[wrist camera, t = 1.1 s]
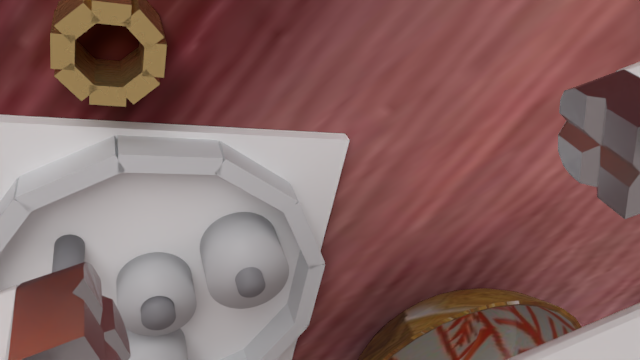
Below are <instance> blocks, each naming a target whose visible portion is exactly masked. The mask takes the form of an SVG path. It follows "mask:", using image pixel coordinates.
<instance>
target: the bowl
mask: <svg viewBox="0 0 640 360" xmlns="http://www.w3.org/2000/svg"><path fill="white" fill-rule="evenodd" d="M579 328H581V326H580V324H579V323H578V321H577V320H576V318H575V317H573V316H572V315H571V314H569V313H568V312H567V311H565V310H564V309H562V308H560V307H558V306H555V305H553V304H551V303H548V302H545V301H542V300H539V299H536V298H534V297H531V296H528V295H525V294H522V293H519V292H513V291H506V290H498V289H487V288H482V289H466V290H456V291H452V292H447V293H443V294H439V295H437V296H434V297H431V298H429V299H426V300H424V301H421V302H419V303H418V304H416V305H414V306H412V307H410V308H408V309H407V310H405V311H403V312H402V313H401V314H399V315H398V316H396V317H395V318H394V319H392V320H391V321H390V322H388V323H387V324H386V325H385V326H384V327H383V328H382V329H381V330H380V331H379V332H378V333H377V334H376V335H375V336H374V337H373V339H372V340H371V341H370V343H369V344H368V345H367V346H366V348H365V349H364V351H363V352H362V354H361V355H360V357H359V359H358V360H506V359H509V358H511V357H513V356H516V355H518V354H520V353H523V352H525V351H527V350H530V349H532V348H534V347H537V346H539V345H541V344H544V343H546V342H549V341H551V340H553V339H556V338H558V337H560V336H563V335H565V334H567V333H570V332H572V331H574V330H577V329H579Z"/></svg>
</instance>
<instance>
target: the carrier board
mask: <svg viewBox="0 0 640 360" xmlns="http://www.w3.org/2000/svg"><path fill="white" fill-rule="evenodd" d="M349 141H350V140H349V138H348V137H347V135H346V134H343V133H324V132H306V131H288V130H270V129H252V128H233V127H215V126H197V125H179V124H161V123H142V122H124V121H106V120H88V119H70V118H51V117H33V116H15V115H0V291H1V290H3V289H6V288H9V287H12V286H15V285H20V284H21V283H23V282H26V281H29V280H32V279H35V278H38V277H41V276H44V275H47V274H50V273H53V272H56V271H59V270H62V269H65V268H68V267H71V266H74V265H77V264H80V263H83V262H88V263H90V264H92V266H93V268H94V269H95V271H96V272H97V274H98V276H99V277H100V279H101V288H102V296H105V297H107V298H110V299H112V300H113V301H114V303H115V305H116V307H117V309H118V310H119V313H120V315H121V317H122V320H123V322H124V325H125V328H126V332H127V336H128V340H129V346H130V355H131V356H130V358H129V360H292V357H293V353H294V349H295V346H296V342H297V338H298V337H299V336H300V335H301V334H302V333H303V332H304V331H305V330H306V329H307V328H308V327H307V326H309V323H310V319H311V316H312V312H313V308H314V305H315V301H316V297H317V294H318V290H319V286H320V282H321V279H322V275H323V271H324V268H325V261H324V259H323V257H322V254H321V252H320V251H321V247H322V243H323V239H324V236H325V232H326V228H327V224H328V220H329V217H330V213H331V209H332V205H333V201H334V198H335V194H336V190H337V186H338V182H339V179H340V175H341V171H342V167H343V163H344V160H345V156H346V152H347V148H348V144H349Z"/></svg>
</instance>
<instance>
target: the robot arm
mask: <svg viewBox="0 0 640 360" xmlns="http://www.w3.org/2000/svg"><path fill="white" fill-rule="evenodd" d="M559 113H560V114H561V115H562V116H563V117H564V118H565V120H566V123H565V124H564V126H563V128H562V129H561V131H560V133H559V134H558V152H559V155H560V158H561V160H562V163H563V166H564V167H565V168H566V170H567V171H568V172H569V174H570V175H571V176H572V177H573V178H575V179H576V180H577V181H578V182H579V183H582V184H586V185H590V186H594V187H596V188H597V197H598V198H599V199H600V200H602V201H603V202H604V203H605V204H607V205H608V206H609V207H610V208H612V209H613V210H614V211H615V212H617V213H618V214H619V215H620V216H622V217H623V218H624V219H627V218H629V217H632V216H635V215H638V214H640V62H638V63H635V64H632V65H630V66H627V67H625V68H622V69H620V70H617V71H616V72H615V73H612V74H609V75H606V76H604V77H601V78H598V79H595V80H593V81H590V82H587V83H584V84H582V85H579V86H576V87H573V88H571V89H568V90H565V91H564V93H563V95H562V97H561V100H560V111H559ZM130 356H131V355H130V346H129V340H128V336H127V332H126V328H125V325H124V322H123V320H122V317H121V315H120V313H119V310H118V309H117V307H116V305H115V303H114V301H113V300H112V299H110V298H107V297H105V296H102V288H101V279H100V277H99V276H98V274H97V272H96V271H95V269H94V268H93V266H92V264H90V263H88V262H83V263H80V264H77V265H74V266H71V267H68V268H65V269H62V270H59V271H56V272H53V273H50V274H47V275H44V276H41V277H38V278H35V279H32V280H29V281H26V282H23V283H21V284H20V285H15V286H12V287H9V288H6V289H3V290H1V291H0V360H129V358H130ZM506 360H640V303H638V304H635V305H633V306H631V307H628V308H626V309H624V310H621V311H619V312H617V313H614V314H612V315H610V316H607V317H605V318H602V319H600V320H598V321H595V322H593V323H591V324H588V325H586V326H584V327H581V328H579V329H577V330H574V331H572V332H570V333H567V334H565V335H563V336H560V337H558V338H556V339H553V340H551V341H549V342H546V343H544V344H541V345H539V346H537V347H534V348H532V349H530V350H527V351H525V352H523V353H520V354H518V355H516V356H513V357H511V358H509V359H506Z"/></svg>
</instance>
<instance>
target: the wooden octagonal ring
mask: <svg viewBox="0 0 640 360" xmlns="http://www.w3.org/2000/svg"><path fill="white" fill-rule="evenodd" d="M96 23H99V24H108V25H117V26H126V27H127V28H128V30H129V31H130V32H131V33H132V34H133V35H134V36H135V37H136V38H137V39H138V40H139V47H138V48H136V49H135V50H134V51H133V52H131V53H130V54H129V55H127V56H126V57H125V58H123V59H122V60H121V61H116V60H104V59H95V58H94V57H93V56H92V55H91V54H90V53H89V52H88V51H87V50H86V49H85V48H84V47H83V46H82V45H81V44H80V43H79V42H78V41H77V38H78V37H79V36H81V35H82V34H83V33H85V32H86V31H87V30H88V29H90V28H91V27H92V26H93V25H95V24H96ZM50 47H51V69H55V74H54V76H55V77H56V78H57V79H58V80H59V81H60V82H61V83H62V84H63V85H65V86H66V87H67V88H68V89H69V90H70V91H71V92H72V93H73V94H74V95H75V96H76V97H77V98H79V99H80V100H81V101H82V100H84V99H85V98H86V97H88V96H89V104H90V105H106V106H122V107H126V98H127V99H128V100H129V101H130V102H131V103H132V104H133V105H134V104H135V103H136V102H138V101H139V100H140V99H141V98H143V97H144V96H145V95H147V94H148V93H149V92H151V91H152V90H153V89H155V88H156V87H157V86H159V85H160V80H159V77H161V78H164V71H165V60H166V49H167V43H166V39H165V35H164V31H163V27H162V23H161V21H160V17H159V14H158V13H157V12H156V11H155V9H154V8H153V7H152V6H151V5H150V4H149V3H148V1H147V0H61V1H59V2H58V5H57V10H55V11H54V16H53V22H52V27H51V32H50Z"/></svg>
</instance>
